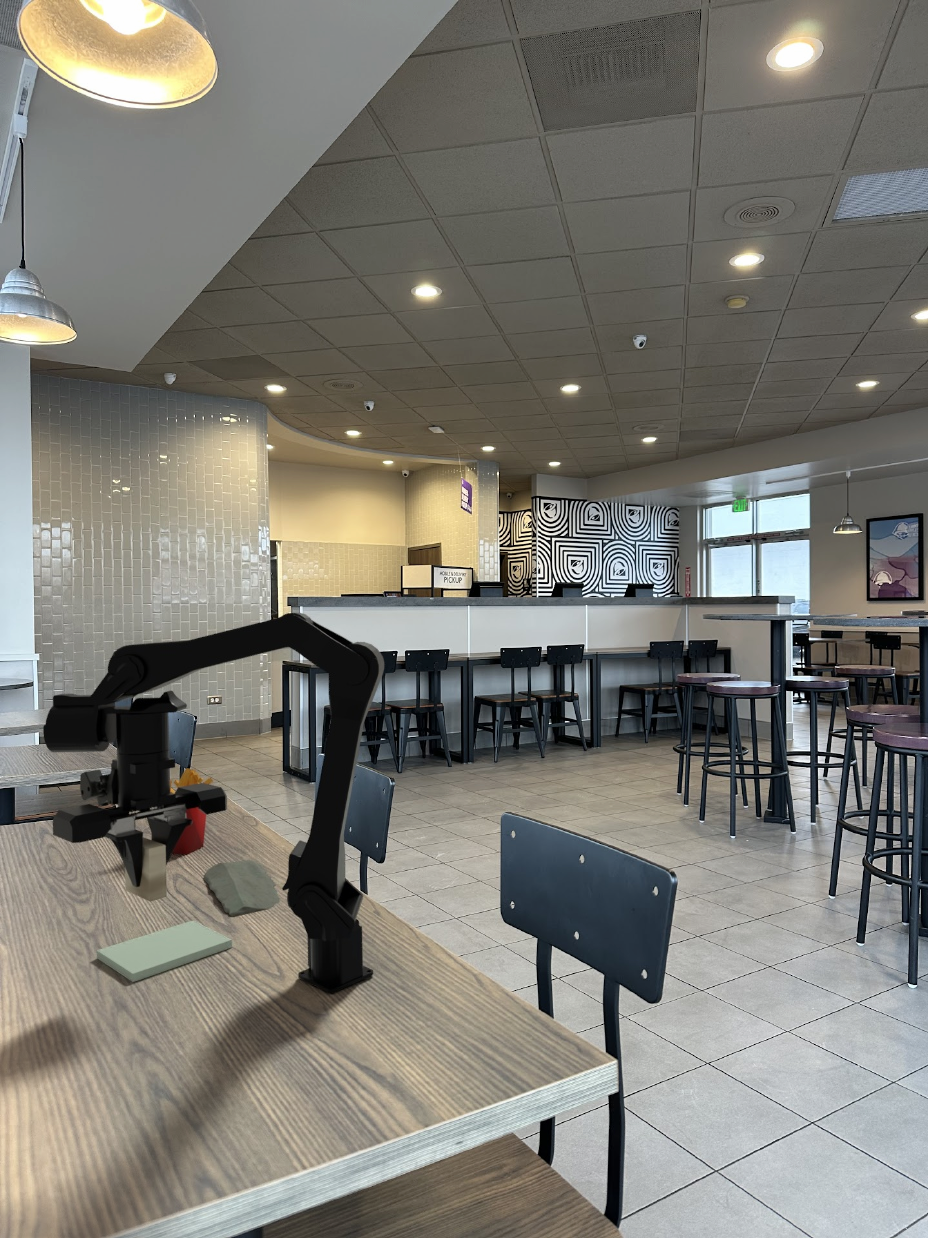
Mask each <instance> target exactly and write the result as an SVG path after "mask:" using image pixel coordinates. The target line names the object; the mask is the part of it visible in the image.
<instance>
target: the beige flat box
mask: <svg viewBox="0 0 928 1238" xmlns="http://www.w3.org/2000/svg"><path fill="white" fill-rule="evenodd" d="M124 880H125V884H124V885H125V886H124V887H125V889H124V890H125V891H126V892H128V893H131V894H132V895H135V896H137V897H140V898H141V899H144V900H146V901H148V902H154V901H157V900H161V899H164V898H167V897H168V895H167V894H168V893H167V891H168V890H167V865H166V845H164V844H161V843H158V842H155V841H153V840H151V839H149V838H147V837H144V836H143V850H142V876H141V882H140V887H134V886H133V885H132V883H131V880H130V878H129V875H128V873H127V870H126V868H125V867H124Z"/></svg>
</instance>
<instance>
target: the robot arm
mask: <svg viewBox="0 0 928 1238" xmlns="http://www.w3.org/2000/svg"><path fill="white" fill-rule="evenodd" d="M286 648H290V649H292V650H293V651H295V653H298V654H299V655H300V656H302V657H303V658H305V659H306V660H307V661H309V662H310V663H311V664H313V665H315V666H316V667H318V668H319V669H321V670H322V671H325V672H326V673H327V674H328V702H329V715H330V717H329V719H330V722H329V726H328V732H327V733H328V734H327V739H326V744H325V748H324V754H323V760H322V765H321V771H320V776H319V782H318V787H317V793H316V800H315V804H314V809H313V815H312V819H311V820H312V821H311V825H310V826H311V827H310V831H309V835H308V836H309V837H308V839H307V841H303V840H300V839H299V840H298V841H297V843H296V845H295V846H294V848H293V849H292V850H291V852H290V853H289V855H288V863H287V868H288V872H287V878H286V881H285V883H284V885H282V888H281V890H282V891H287V894H286V902H287V905H288V908H289V909H290V910H291V911H292V912H293V914H294V915H295V916H296V917H297V918H299V919H301V922H302V925H303V928H304V929H305V932H306V935H307V936H306V937H307V966H308V968H307V969H303V970H301V971H299V972H298V973H297V974H298V975H297V977H298V978H299V979H300V980H302V981H304V982H306V983H308V984H310V985H312V986H314V987H316V988H318V989H320V990H322V991H324V992H326V993H328V994H334V993H336V992H338V991H341V990H343V989H346V988H347V987H349V986H353V985H354V984H356V983H359V982H361V981H363V980H365V979H369V978H370V977H373V976H374V970H373V969H372V968H369V967H368V966H365V965H364V959H363V958H364V957H363V955H364V953H363V951H364V948H363V946H364V945H363V926H362V925H360V921H359V919H357V917H358V914H359V911H360V908H361V905H362V902H363V899H364V893H362V892H361V891H360V890H359V889H358V887H356V886H355V885H354V884H352V883H351V881H349V880H348V879H347V878H346V848H345V836H344V835H345V828H346V823H347V818H348V813H349V807H350V801H351V794H352V791H353V790H352V789H353V784H354V779H355V775H356V774H355V773H356V768H357V762H358V756H359V751H360V748H361V747H360V745H361V740H362V734H363V730H364V729H363V728H364V724H365V720H366V717H367V716H368V713H369V710H370V709H371V706H372V703H373V700H374V698H375V695H376V692H377V691H378V687H379V685H380V682H381V680H382V678H383V674H384V670H385V660H384V656H383V654H382V653H381V651H379V649H378V648H377V647H376V646H375V645H373V644H371V643H368V642H365V641H356V642H355V641H354V642H353V641H351V640H349V639H347V638H346V637H344V636H342V635H341V634H339V633H337V632H335V631H333V630H331V629H329V628H327V627H325V626H324V625H321V624H320V623H318V622H316V621H314V620H313V619H312V618H311V617H310V616H308V615H307V614H305V613H302V612H286V613H284V614H283V615H281V616H279V617H276V618H273V619H272V618H271V619H268V620H264V621H261V622H256V623H253V624H252V623H251V624H248V625H245V626H240V627H236V628H232V629H229V630H224V631H221V632H217V633H213V634H209V635H205V636H201V637H196V638H193V639H189V640H188V639H186V640H172V641H159V642H157V641H156V642H145V643H136V644H135V643H134V644H128V645H123V646H121V647H119V648H117V649H116V650H114V651H113V654H112V655H111V657H110V658H109V660H108V665H107V673H106V674H105V676H104V677H103V678H102V679H101V681H100V683H99V684H98V685H97V687H96V688H95V689H94V691H93V692H92V694H76V693H59V694H55V695H53V696H52V706H51V707H50V709H49V711H48V713H47V716H46V719H45V724H44V725H43V727H42V728H43V729H42V730H43V732H42V734H43V740H44V744H45V745H46V748H47V750H48V751H49V752H51V753H93V752H99V753H100V752H105V751H106V750H107V749H108V748H109V747H110V745H111V744H113V743H115V741H116V759H115V758H114V759H111V764H110V773H108V774H103V773H102V771H101V770H100V769H94V770H89V771H84V772H82V773H81V774H80V778H79V779H80V780H79V781H80V782H79V790H80V795H81V796H80V797H81V799H82V800H83V801H89V800H94V799H96V800H97V805H98V806H97V805H94V804H90V803H89V804H87V803H86V804H83V805H82V804H81V805H77V806H73V807H66V808H61V809H58V810H57V811H56V814H55V815H54V816H53V818H52V835H53V836H55V837H57V838H60V839H62V840H65V841H67V842H70V843H72V844H77V843H78V844H79V843H84V842H85V843H86V842H88V841H94V840H99V839H103V838H107V839H109V840H110V841H111V842H112V844H113V845H114V847H115V848H116V850H117V852H118V854H119V856H120V858H121V860H122V861H121V862H122V863H123V865H124V869H125V868H126V870H127V873H128V875H129V878H130V880H131V883H132V885H133V886H134V887H140V882H141V876H142V850H143V837H144V832H143V831H142V830H141V831H140V830H139V829H136V821H138V820H143V819H146V820H147V823H148V827H149V830H150V834H151V839H150V840H153V841H155V842H158V843H161V844H164V845H166V866H167V865H168V862H169V861H170V858H171V856H172V852H173V850H174V848H175V846H176V844H177V842H178V840H179V838H180V837H181V835H182V833H183V831H184V830H185V828H186V827H187V826H189V825H192V820H191V819H188V818H186V810H187V809H191V808H196V807H198V809H199V810H200V811H202V812H203V813H204V814H206V815H211V814H216V813H220V812H225V811H227V810H228V796H227V793H226V792H225V790H224V789H223V788H222V786H217V785H214V784H213V785H212V784H205V783H203V782H201V783H199V784H193V785H188V786H183V787H178V788H177V787H176V791H175V794H174V793H170V780H171V773H170V771H171V769H173V768H176V759H175V758H173V757H170V724H169V721H170V720H169V713H173V714H174V713H178V712H180V711H183V710H186V709H187V707H188V704H187V703H186V702H185V701H183V700H182V699H181V698H179V697H178V696H177V695H176V694H175V692H174V691H173V690H168V691H165V692H163V693H162V694H161V696H160V697H159V696H158V697H137V696H138V695H141V694H144V693H148V692H152V691H155V690H159V689H162V688H164V687H166V686H169V685H171V684H174V683H175V682H178V681H180V680H182V679H184V678H187V677H189V675H192V674H194V673H196V672H198V671H201V670H202V669H206V668H210V667H214V666H217V665H222V664H225V663H230V662H233V661H234V662H235V661H237V660H238V661H239V660H242V659H246V658H250V657H255V656H259V655H262V654H266V653H269V652H275V651H279V650H282V649H286ZM135 697H136V698H135ZM133 698H135V699H134V700H133V701H132V703H131V705H119V706H118V705H117V706H116V703H118V702H122V701H125V700H129V699H133ZM109 805H112V806H113V805H114V806H115V805H117V806H116V807H111V808H103V807H107V806H109Z"/></svg>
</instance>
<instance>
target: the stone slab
mask: <svg viewBox="0 0 928 1238" xmlns="http://www.w3.org/2000/svg"><path fill="white" fill-rule="evenodd" d="M202 879H203V882H205V883H206V884H208V886H209V890H211V891H212V892H213V893H214V894H215V897H216V899H217V900H218V901H219V902H220V903H221V906H222V907H223V911H224V912H225V913H227V914H229V916H230V917H238V916H243V915H244V916H245V915H247V914H248V915H249V914H252V913H257V912H261V911H266V910H270V909H272V908H274V907H275V905H276V904H279V903H280V902H281V901H280V897H279V895H278V894H279V893H278V890H277V889H276V888H275V887H276V886H277V885H276V884H277V883H275V882H273V881H274V879H272V876H271V875H269V874H268V873H267V869H266V868H265V867H264V866H263V864H261V863H259V862H256V861H254V860H251V859H247V860H237V861H236V860H235V861H231V862H218V863H216V864H215V865H212V866H211V867H210V868H208V869H207V870H206V872H205V873H204V874H203V878H202Z"/></svg>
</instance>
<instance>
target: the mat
mask: <svg viewBox="0 0 928 1238" xmlns="http://www.w3.org/2000/svg"><path fill="white" fill-rule="evenodd" d="M231 948H233V939H232V938H229V937H227V936H225V935H224V934H222V933H219V932H218V931H215V930H214V929H212V928H209V927H207V926H205V925H203V924H201V923H200V922H198V921H196V920H190V921H187V922H183V923H180V924H177V925H174V926H171V927H168V928H164V929H160V930H157V931H155V932H152V933H148V934H145V935H142V936H139V937H135V938H133V939H128V940H125V941H123V942H120V943H116V944H112V945H110V946H106V947H105V948H104V947H103V948H101V949H97V950H96V958H97V960H99V961H100V962H101V963H103V964H105V965H106V966H107V967H110V968H111V969H112V970H114V971H115V972H117V973H119V974H120V975H122V976H123V977H125V979H127V980H129V981H130V982H132V983H135V982H137V981H141V980H143V979H147V978H149V977H152V976H155V975H158V974H160V973H164V972H166V971H170V970H171V969H172V970H173V969H175V968H177V967H180V966H183V965H185V964H186V965H187V964H189V963H192V962H195V961H198V960H201V959H203V958H205V957H208V956H211V955H214V954H217V953H221V952H223V951H226V950H229V949H231Z"/></svg>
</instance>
